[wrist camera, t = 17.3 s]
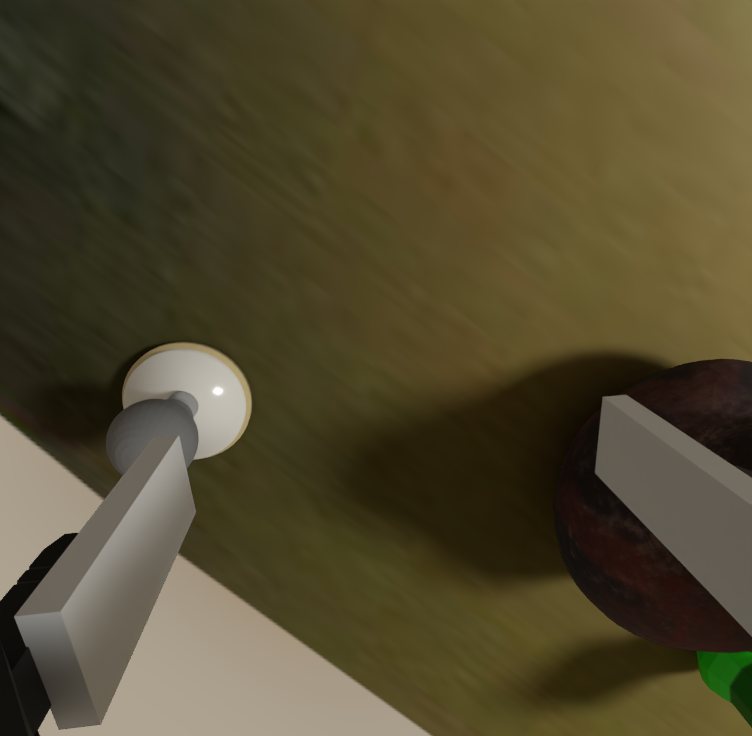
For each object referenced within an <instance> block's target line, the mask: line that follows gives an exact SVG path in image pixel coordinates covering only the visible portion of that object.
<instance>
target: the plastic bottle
mask: <svg viewBox="0 0 752 736" xmlns="http://www.w3.org/2000/svg"><path fill="white" fill-rule="evenodd" d="M696 652H697V660H698V668H699V671H700V674H701V677H702V679H703V681H704V682H705V683H706V685H707V686H708V687H709V688H710V689H711V690H712V691H714V692H715V693H716V694H718V695H719V696H721V697H722V698H724V699H726V700H727V701H729V702H731V703H732V704H733V705H734V706H735V707H736V708H737V710H738V711H739V712H740V714H741V715H742V716H743V717H744V719H745V720H746V721H747V722H748V724H749V725H750V726H751V727H752V653H751V652H738V653H715V652H701V651H696Z"/></svg>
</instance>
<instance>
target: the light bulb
mask: <svg viewBox="0 0 752 736" xmlns="http://www.w3.org/2000/svg"><path fill="white" fill-rule="evenodd" d="M197 411H198V402H197V400H196V398H195V397H194V396H193V395H192V394H190V393H188V392H184V391H180V392H175V393H173V394H172V395H171V396H170V397H169V398H168V399H166V400H163V399H147V400H142V401H139V402H137V403H134V404H132V405H130V406H128V407H127V408H125V409H124V410H122V411H121V412H120V413H119V414H118V415H117V416H116V417H115V418H114V420H113V421H112V423H111V425H110V427H109V430H108V433H107V438H106V448H107V454H108V457H109V460H110V461H111V463H112V465H113V466H114V468H115V469H116V470H117V471H118V472H119V473H120V474H121V475H124V474H125V473H126V471H127V470H128V469H129V467H130V466H131V465H132V464H133V462H134V461H135V460H136V458H137V457H138V456H139V455H140V453H141V452H142V451H143V449H144V448H145V447H146V446H147V444H148V443H149V442H150V440H151V439H152V438H153V437H160V436H171V435H179V437H180V442H181V446H182V451H183V455H184V460H185V465H186V469H187V468H188V466H189V465H190V463H191V462H192V460H193V459H194V456H195V454H196V452H197V448H198V442H199V438H198V429H197V426H196V423H195V421H194V418H193V417H194V416H195V415H196V413H197Z"/></svg>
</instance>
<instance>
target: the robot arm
mask: <svg viewBox="0 0 752 736" xmlns="http://www.w3.org/2000/svg"><path fill="white" fill-rule="evenodd" d="M595 474H596V475H597V476H598V477H599V478H600V479H601V480H602V481H603V482H604V483H605V484H606V485H607V486H608V487H609V488H610V489H611V490H612V491H613V492H614V493H615V494H616V495H617V497H618V498H619V499H620V500H621V501H622V502H623V503H624V504H625V505H626V506H627V507H628V508H629V509H630V510H631V511H632V512H633V513H634V514H635V515H636V516H637V517H638V518H639V519H640V521H641V522H642V523H643V524H644V525H645V526H646V527H647V528H648V529H649V530H650V531H651V532H652V533H653V534H654V535H655V536H656V537H657V538H658V539H659V540H660V541H661V542H662V543H663V544H664V546H665V547H666V548H667V549H668V550H669V551H670V552H671V553H672V554H673V555H674V556H675V557H676V558H677V559H678V560H679V561H680V562H681V563H682V564H683V565H684V566H685V567H686V568H687V570H688V571H689V572H690V573H691V574H692V575H693V576H694V577H695V578H696V579H697V580H698V581H699V582H700V583H701V584H702V585H703V586H704V587H705V588H706V589H707V590H708V591H709V592H710V594H711V595H712V596H713V597H714V598H715V599H716V600H717V601H718V602H719V603H720V604H721V605H722V606H723V607H724V608H725V609H726V610H727V611H728V612H729V613H730V614H731V615H732V616H733V617H734V619H735V620H736V621H737V622H738V623H739V624H740V625H741V626H742V627H743V628H744V629H745V630H746V631H747V632H748V633H749V634H750V635H751V636H752V471H749V470H747V469H744V468H742V467H739V466H733V465H732V464H730V463H728V462H727V461H725V460H724V459H722V458H721V457H719V456H718V455H716V454H715V453H713V452H712V451H710V450H709V449H707V448H706V447H704V446H703V445H701V444H700V443H698V442H697V441H695V440H694V439H692V438H691V437H689V436H688V435H686V434H685V433H683V432H682V431H680V430H679V429H677V428H676V427H674V426H673V425H671V424H670V423H668V422H667V421H665V420H664V419H662V418H661V417H659V416H657V415H656V414H654V413H653V412H651V411H650V410H648V409H647V408H645V407H644V406H642V405H641V404H639V403H638V402H636V401H635V400H633V399H632V398H630V397H629V396H627V395H617V396H606V397H603V398H602V408H601V418H600V428H599V437H598V447H597V457H596V467H595ZM195 513H196V511H195V506H194V501H193V497H192V492H191V488H190V483H189V478H188V474H187V469H186V465H185V460H184V455H183V451H182V446H181V442H180V437H179V435H171V436H160V437H153V438H152V439H151V440H150V442H149V443H148V444H147V446H146V447H145V448H144V449H143V451H142V452H141V453H140V455H139V456H138V457H137V458H136V460H135V461H134V462H133V464H132V465H131V466H130V467H129V469H128V470H127V471H126V473H125V474H124V475H123V476H122V478H121V479H120V480H119V482H118V483H117V484H116V486H115V487H114V488H113V489H112V491H111V492H110V493H109V495H108V496H107V497H106V498H105V500H104V501H103V502H102V504H101V505H100V506H99V508H98V509H97V510H96V511H95V513H94V514H93V515H92V517H91V518H90V519H89V521H88V522H87V523H86V524H85V526H84V527H83V528H82V529H81V531H80V532H79V533H71V534H64V535H63V536H62V537H60V538H59V539H58V540H56V541H55V542H53V543H52V544H51V545H49V546H48V547H47V548H45V549H44V550H43V551H42V552H41V553H40V555H39V556H38V557H37V558H36V559H35V560H34V562H33V563H32V564H31V565H30V566H29V570H26V571H25V573H24V574H23V575H22V576H21V577H20V578H19V580H18V581H17V585H14V586H13V587H12V588H11V589H10V590H9V592H8V593H7V594H6V595H5V596H4V597H3V599H2V600H1V601H0V736H40V735H39V733H38V729H39V727H40V725H41V723H42V721H43V720H44V718H45V716H46V714H47V713H48V711H49V709H51V711H52V714H53V716H54V719H55V721H56V724H57V726H58V729H59V730H60V729H68V728H77V727H85V726H92V725H100V724H101V723H102V720H103V718H104V716H105V713H106V712H107V709H108V707H109V705H110V703H111V700H112V698H113V696H114V694H115V691H116V689H117V687H118V685H119V683H120V680H121V678H122V676H123V673H124V671H125V669H126V667H127V665H128V662H129V660H130V658H131V656H132V654H133V651H134V649H135V647H136V644H137V642H138V640H139V638H140V636H141V633H142V631H143V629H144V627H145V624H146V622H147V620H148V618H149V616H150V613H151V611H152V609H153V606H154V605H155V602H156V600H157V598H158V596H159V593H160V591H161V589H162V586H163V584H164V582H165V580H166V578H167V575H168V573H169V571H170V569H171V567H172V564H173V562H174V560H175V558H176V556H177V553H178V551H179V549H180V547H181V544H182V542H183V540H184V538H185V535H186V533H187V531H188V529H189V527H190V524H191V522H192V520H193V518H194V515H195Z"/></svg>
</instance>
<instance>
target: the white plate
mask: <svg viewBox="0 0 752 736" xmlns="http://www.w3.org/2000/svg"><path fill="white" fill-rule="evenodd" d="M180 391H184V392H188V393H190V394H192V395H193V396H194V397H195V398H196V400H197V402H198V411H197V413H196V415H195V416H194V417H193V418H194V421H195V423H196V426H197V429H198V438H199V442H198V448H197V452H196V454H195V456H194V459H200V458H207V457H210V456H214V455H216V454H219V453H221V452H223V451H225V450H226V449H228V448H229V447H231V446H232V445H233V444H234V443H235V442H236V441H237V440H238V439H239V438H240V437H241V435H242V434H243V432H244V431H245V429H246V427H247V424H248V422H249V419H250V416H251V412H252V403H253V400H252V392H251V388H250V385H249V382H248V379H247V378H246V376H245V374H244V372H243V371H242V369H241V368H240V367H239V365H238V364H237V363H236V362H235V361H234V360H233V359H232V358H230V357H229V356H228V355H227V354H225V353H224V352H222V351H220V350H219V349H217V348H214V347H212V346H210V345H207V344H204V343H200V342H195V341H174V342H169V343H165V344H162V345H160V346H157V347H155V348H153V349H152V350H150V351H148V352H147V353H146V354H144V355H143V356H142V357H141V358H140V359H138V360H137V361H136V362H135V364H134V365H133V366H132V367H131V369H130V370H129V372H128V374H127V376H126V378H125V381H124V385H123V391H122V403H123V408H124V409H125V408H127V407H128V406H130V405H132V404H134V403H137V402H139V401H142V400H147V399H163V400H166V399H168V398H169V397H170V396H171V395H172V394H173V393H175V392H180Z"/></svg>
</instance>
